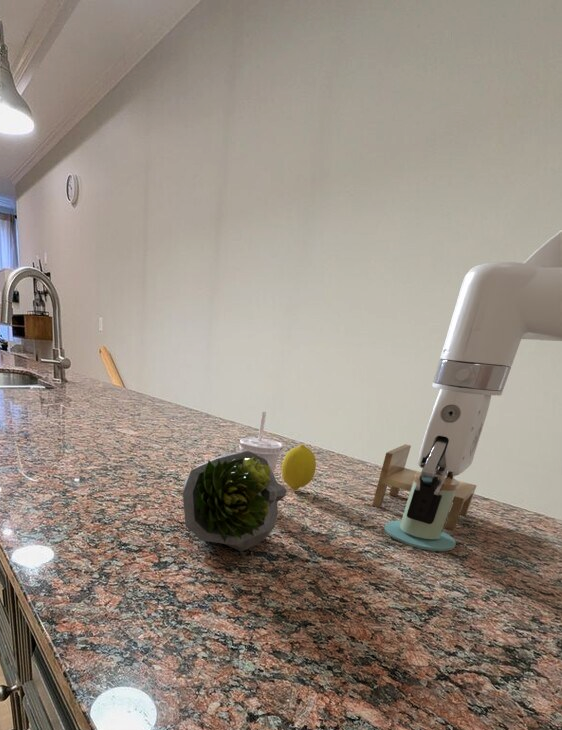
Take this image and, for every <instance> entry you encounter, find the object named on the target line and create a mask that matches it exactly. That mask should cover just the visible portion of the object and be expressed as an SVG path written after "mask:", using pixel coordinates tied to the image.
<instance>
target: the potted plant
mask: <svg viewBox="0 0 562 730" xmlns="http://www.w3.org/2000/svg"><path fill="white" fill-rule="evenodd" d="M286 495H287V489H286V487H285V486H284V485H282V484H280V483H279V482H278V481H277V479H276V477H275V474H273V472H272V470H271V468H270V466H269V464H268V462H267V460H266V459H265V458H264V457H262V456H259V455H257V454H255V453H252V452H250V451H244V452H241V451H237V452H236V451H235V452H228V453H224V454H222V455H219V456H218V457H215V458H212V459H208V460H207V461H206V462H203V463H201V464H199V465H198V466H196V467H194V468H192V469H191V470H190V471H189V473H188V474H187V476H186V477H185V480H184V485H183V489H182V502H183V515H184V525H185V527H186V529H188V530H189V531H190V532H191V533H192V534H193V535H194V536H195V537H196V538H197V539H199V541H201V542H210V543H218V544H224V545H226V546H228V547H230V548H232V549H234V550H236V551H239V552H240V553H242V552H244V551H246V550H248V549H250V548H251V547H254V546H256V545H259V544H260V543H262V542H263V541H264V540H265V539H266V538H267V537H269V535H270V534H271V532H272V531H273V530H274V528H275V525H276V521H277V518H278V515H279V509H278V502H280V501H281V500H282V499H284V498H285V497H286Z"/></svg>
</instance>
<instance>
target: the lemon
mask: <svg viewBox="0 0 562 730" xmlns="http://www.w3.org/2000/svg"><path fill="white" fill-rule="evenodd" d="M316 468H317V461H316V456H315V454H314V453H313V451H312V450H311V449H309V447H307V446H306V445H305V444H300V445H298V446H295V447H293V448H290V449H289V450H288V451H287V452H286V454H285V456H284V458H283V461H282V463H281V476H282V479H283V481H284V482H285V483H286V484H287V486H289V487H290V488H291V489H292V490H293V491H297V490H298V489H300V488H304V487H306V486H307V485H309V483H311V481H312V480H313V478H314V476H315V473H316Z"/></svg>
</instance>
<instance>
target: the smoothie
mask: <svg viewBox="0 0 562 730" xmlns="http://www.w3.org/2000/svg"><path fill="white" fill-rule="evenodd" d="M266 415H267V412H266V411H261V417H260V425H259V430H258V437H243V438H241V439H240V440H239V445H238V447H239V448H240V452H244V451H250V452H252V453H255V454H257V455H259V456H262V457H264V458H265V459H266V460H267V462H268V464H269V466H270V468H271V470H272V472H273V474H274V473H275V471H276V467H277V463H278V461H279V458H280V454H282V453H283V448H284V445H283V444H282V443H281V442H280V441H277V440H273V439H269V438H263V434H264V429H265V422H266ZM274 475H275V474H274Z"/></svg>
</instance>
